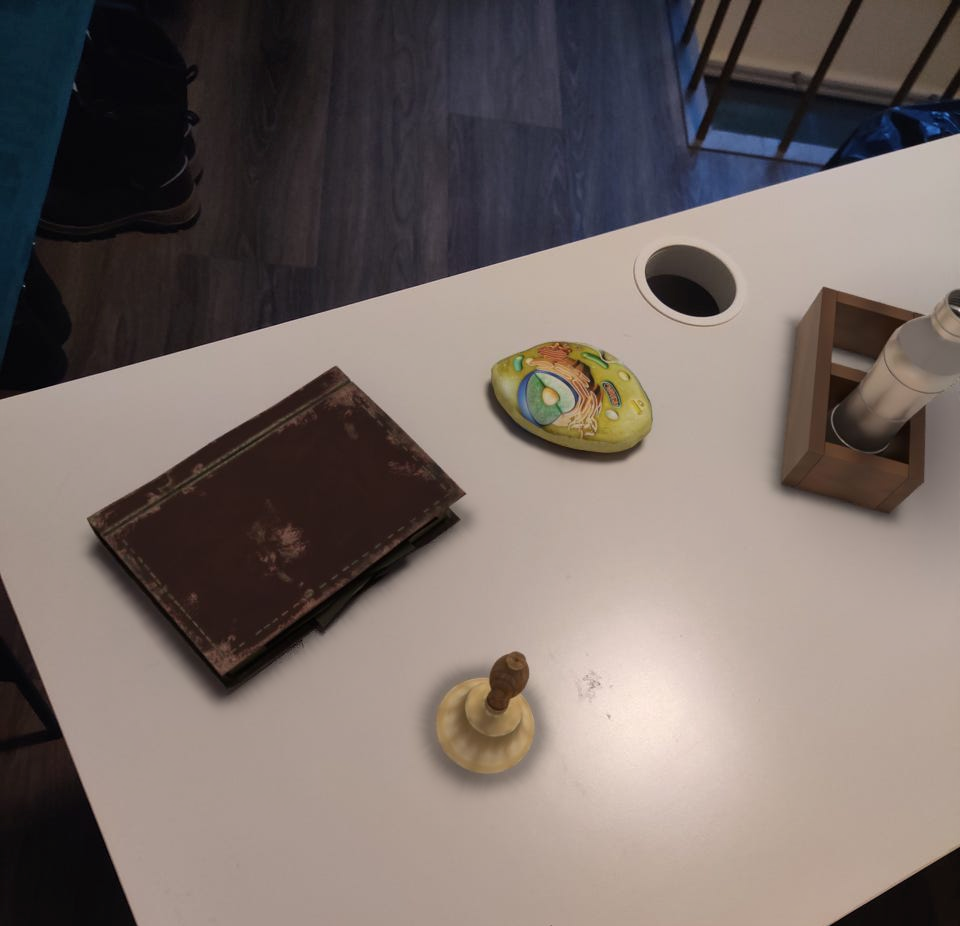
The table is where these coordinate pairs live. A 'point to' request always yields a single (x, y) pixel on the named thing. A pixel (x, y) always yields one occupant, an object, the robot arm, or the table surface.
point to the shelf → (827, 386)
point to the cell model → (574, 396)
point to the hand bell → (488, 718)
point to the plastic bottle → (900, 380)
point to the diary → (278, 524)
